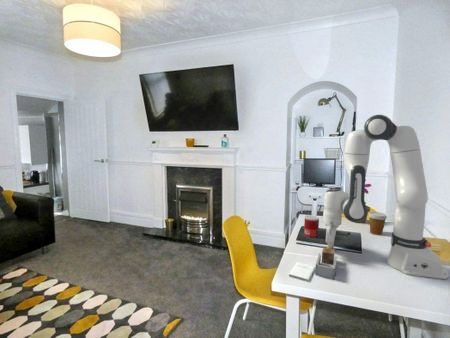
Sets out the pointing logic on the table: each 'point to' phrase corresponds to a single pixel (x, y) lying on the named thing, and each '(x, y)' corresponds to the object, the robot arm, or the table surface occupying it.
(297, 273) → the external hard drive
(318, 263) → the lane
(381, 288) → the table surface
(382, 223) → the disposable coffee cup
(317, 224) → the canned food
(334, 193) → the robot arm
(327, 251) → the towed block
